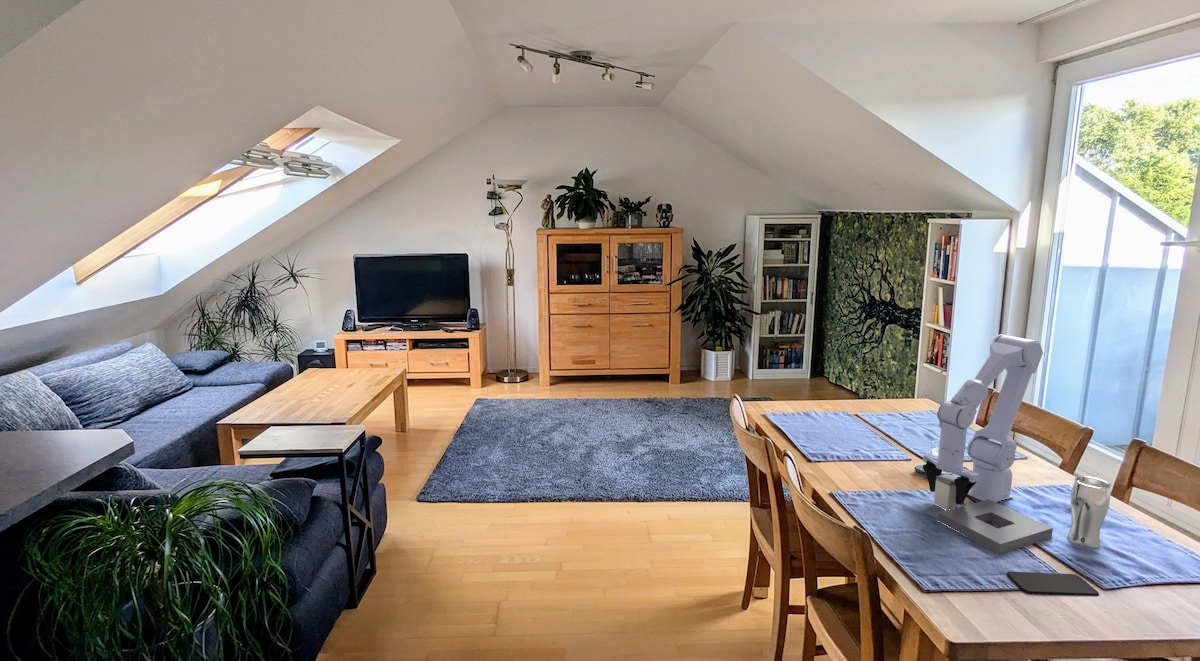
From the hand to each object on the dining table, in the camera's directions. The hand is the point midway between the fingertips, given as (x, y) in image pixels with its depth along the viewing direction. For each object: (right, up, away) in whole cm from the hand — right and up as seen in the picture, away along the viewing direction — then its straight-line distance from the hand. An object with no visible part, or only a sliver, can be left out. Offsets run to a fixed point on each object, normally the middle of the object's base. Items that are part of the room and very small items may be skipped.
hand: (946, 497), depth 161 cm
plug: (0, -3, +1) cm, 3 cm away
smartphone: (+3, -10, -33) cm, 35 cm away
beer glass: (+22, -6, -17) cm, 29 cm away
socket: (+5, -5, -11) cm, 13 cm away
